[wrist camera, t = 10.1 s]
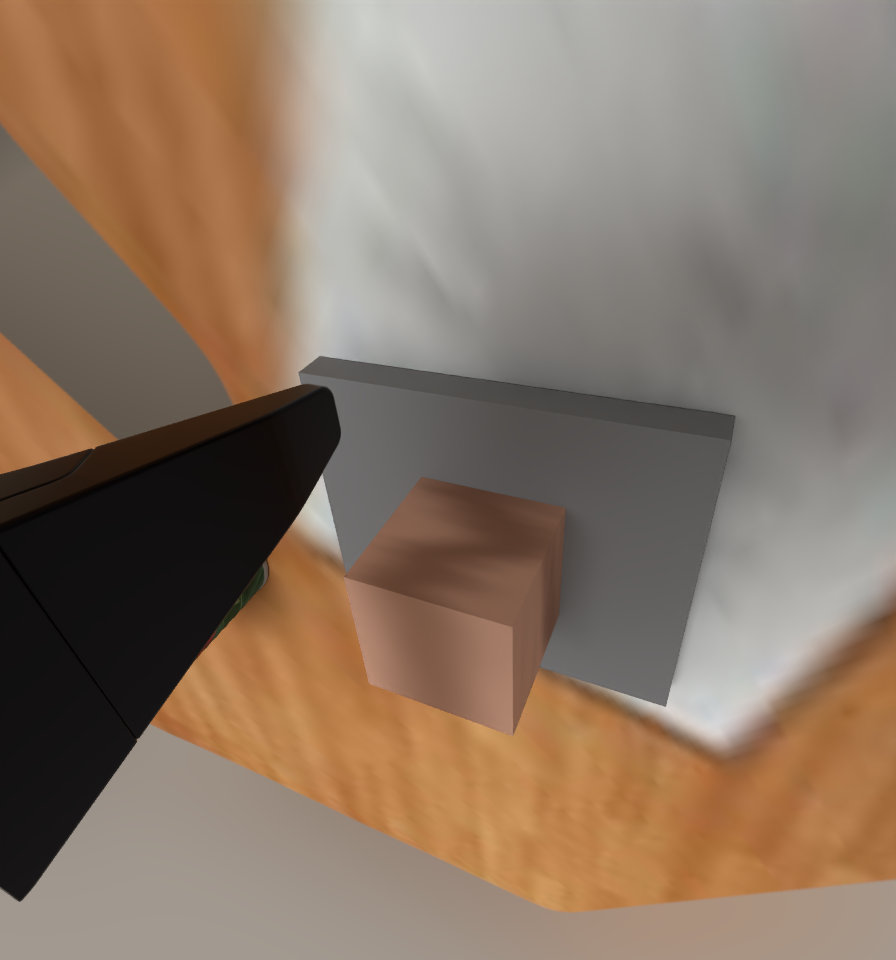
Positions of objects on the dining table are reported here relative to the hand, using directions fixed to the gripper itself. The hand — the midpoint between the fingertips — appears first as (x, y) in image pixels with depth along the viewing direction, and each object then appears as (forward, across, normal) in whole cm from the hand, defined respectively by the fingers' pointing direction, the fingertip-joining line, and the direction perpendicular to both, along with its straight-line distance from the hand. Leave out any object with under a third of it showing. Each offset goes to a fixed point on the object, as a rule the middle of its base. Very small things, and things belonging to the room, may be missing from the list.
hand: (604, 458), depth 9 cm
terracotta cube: (+10, +6, +13) cm, 17 cm away
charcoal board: (+12, +6, +13) cm, 18 cm away
